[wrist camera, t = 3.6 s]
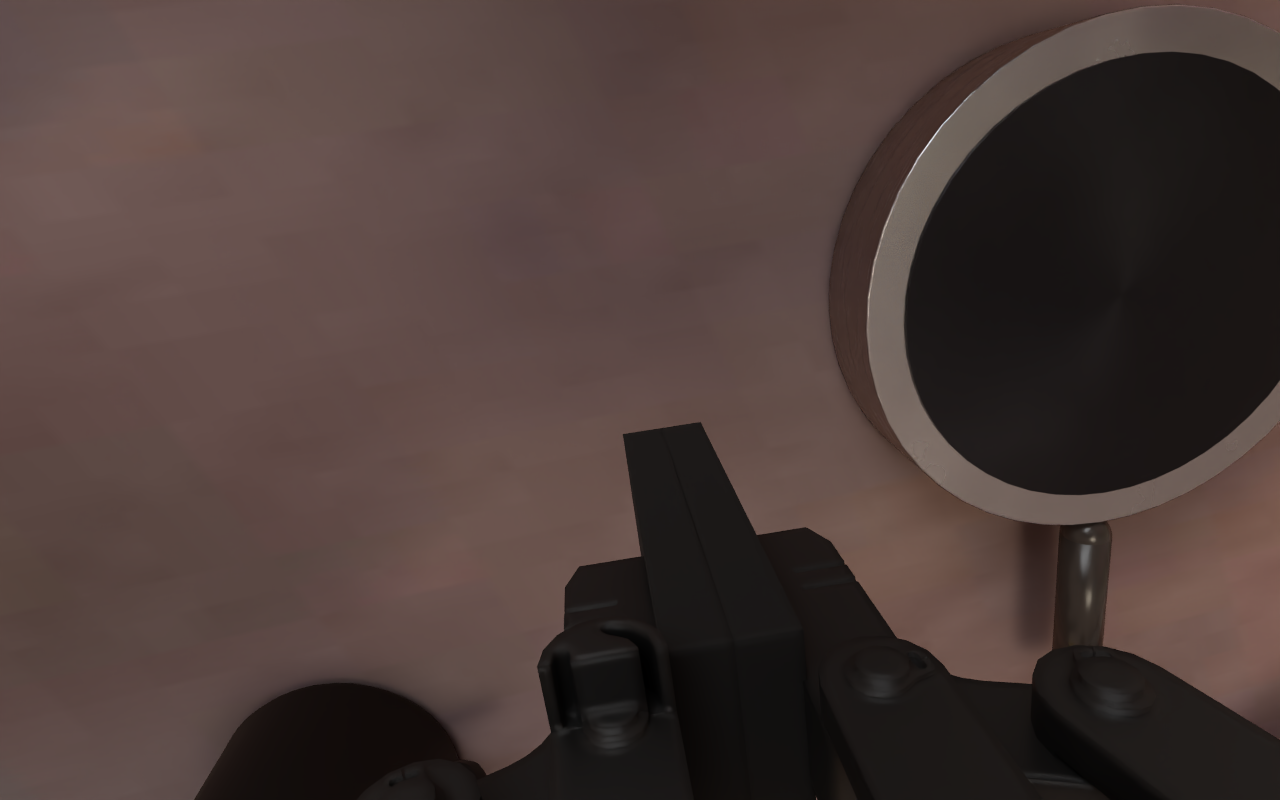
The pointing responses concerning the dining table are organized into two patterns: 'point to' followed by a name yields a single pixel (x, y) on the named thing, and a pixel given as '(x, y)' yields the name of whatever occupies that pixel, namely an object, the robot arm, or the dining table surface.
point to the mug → (326, 745)
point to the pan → (1074, 277)
